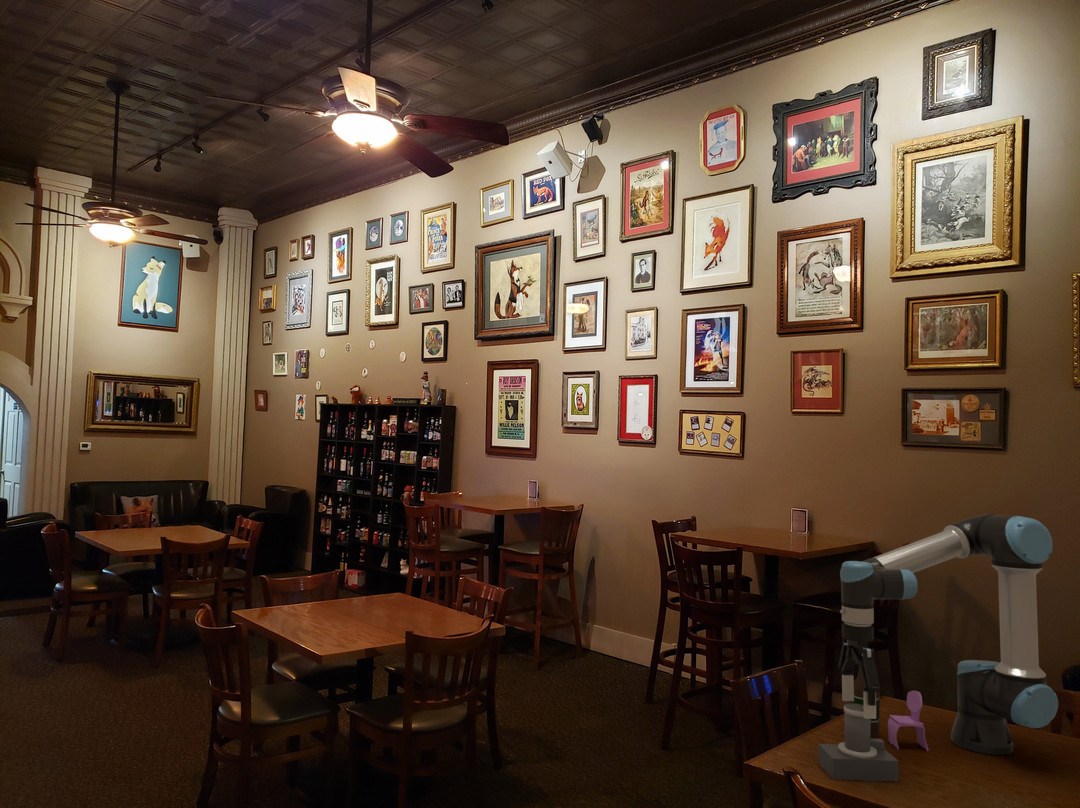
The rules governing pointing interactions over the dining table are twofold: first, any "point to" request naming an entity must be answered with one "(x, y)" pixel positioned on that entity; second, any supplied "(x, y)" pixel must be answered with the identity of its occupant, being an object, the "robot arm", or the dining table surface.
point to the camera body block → (858, 762)
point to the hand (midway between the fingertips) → (858, 709)
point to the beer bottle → (860, 700)
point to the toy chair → (908, 720)
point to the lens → (857, 728)
